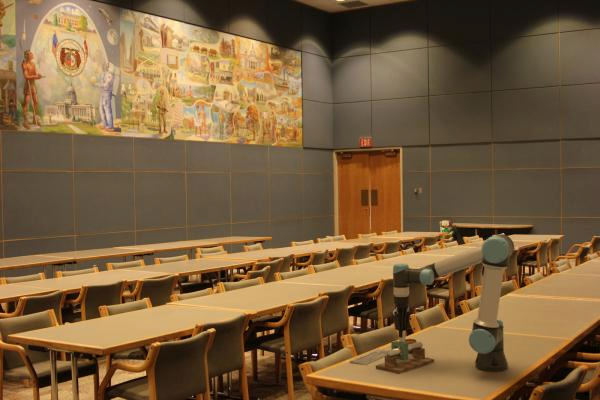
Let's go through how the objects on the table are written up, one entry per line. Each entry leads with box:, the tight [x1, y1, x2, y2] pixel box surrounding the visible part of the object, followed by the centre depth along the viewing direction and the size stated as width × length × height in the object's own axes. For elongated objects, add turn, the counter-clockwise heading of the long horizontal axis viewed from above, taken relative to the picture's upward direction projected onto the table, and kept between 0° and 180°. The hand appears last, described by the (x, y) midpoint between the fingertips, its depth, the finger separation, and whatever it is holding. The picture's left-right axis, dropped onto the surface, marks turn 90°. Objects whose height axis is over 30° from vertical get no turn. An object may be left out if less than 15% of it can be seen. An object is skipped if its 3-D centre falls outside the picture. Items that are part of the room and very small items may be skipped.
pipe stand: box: [375, 347, 435, 375], centre depth 338 cm, size 28×14×6 cm, turn 133°
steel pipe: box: [386, 341, 423, 357], centre depth 338 cm, size 24×3×3 cm, turn 133°
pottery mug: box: [405, 338, 418, 355], centre depth 363 cm, size 12×10×8 cm
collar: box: [390, 340, 409, 361], centre depth 335 cm, size 3×8×8 cm, turn 43°
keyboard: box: [349, 348, 388, 366], centre depth 355 cm, size 29×10×2 cm, turn 145°
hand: (402, 343), depth 337 cm, fingers closed
